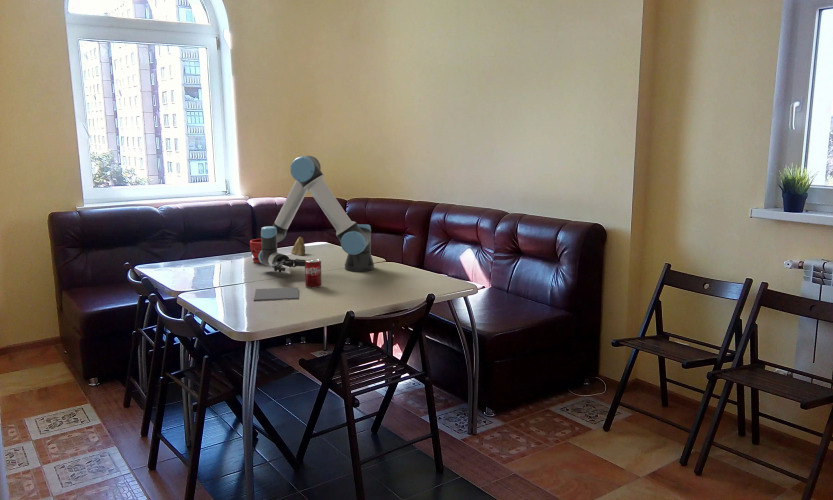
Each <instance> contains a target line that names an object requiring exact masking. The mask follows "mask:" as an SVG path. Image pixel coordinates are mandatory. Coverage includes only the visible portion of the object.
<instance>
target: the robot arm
mask: <svg viewBox="0 0 833 500" xmlns="http://www.w3.org/2000/svg"><path fill="white" fill-rule="evenodd" d="M289 167H290V169H289V172H290V174H291V177H292V178H293V179H294V180H295V181H294V183H293V185H292V187H291V189H290V190H289V193H288V195H287V196H286V199H285V201H284V203H283V205H282V206H281V208H280V211H279V212H278V215H277V216H276V219H275V221H274V223H273V224H272V226H271V225H270V226H269V225H268V226H263V227H261V230H260V239H261V244H262V248H261V249H262V251H261V252H260V253H259V255H258V259H259V261H260V262H261V263H260V264H263V265H265V266H266V267H267V266H268V267H270V268H272V269H273V271H274V272H277V271H278V273H279V274H280V273H282V272H283V273H286V274H291V268H296V267H305V261H306V260H307V259H301V258H300V259H299V258H294V259H291V258H289V256H288V255H286V254H284V253H280V252H278V243H279V242H281V241H284V239H285V238H286V236H287V232H288V229H289V227H290V225H291V224H292V221H293V219H294V218H295V216H296V214H297V212H298V210H299V208H300V206H301V204H302V202H303V200H304V199H305V196H306V194H307V193H308V191H309V193H310V195H311V196H312V197H313V199H314V200H315V202H316V203H317V205H319V207H320V208H321V211H322V212H323V213H324V215H325V216H326V217H327V219H328V221H329V222H330V224H331V225H332V227H333V228H334V230H335V231H336V232H335V237H336V238H337V239H338V241H339V242H340V247H341V250H342V251H343V252H344V253H346V254H347V256H346V259H345V261H344V270H346V271H348V272H369V271H373V270H374V269H375V262H374V259H373V256H372V253H371V251H372V249H371V246H372V242H371V241H372V238H371V237H372V236H371V235H372V228H371V227H372V226H371V225H370V224H362V223H361V224H358V223H357V222H356V221H353V220H351V218H350V217H349V216H348V214H347V212H346V211H345V210H344V208H343V207H342V205H341V204H340V202H339V201H338V199H337V198H336V197H335V194H333V192H332V190H331V189H330V188H329V186H328V184H327V183H326V182H325V180H324V178H325V177H324V173H323V172H322V169H321V167H322V166H321V163H320V161H319V159H317V157H315V156H311V155H302V156H298V157H296V158H295V159H294V160H293V161H292V162H291V163H290V166H289Z"/></svg>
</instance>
